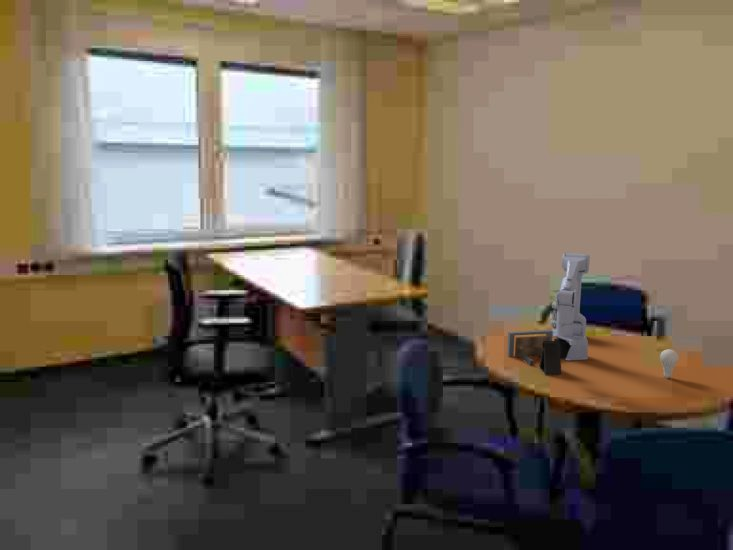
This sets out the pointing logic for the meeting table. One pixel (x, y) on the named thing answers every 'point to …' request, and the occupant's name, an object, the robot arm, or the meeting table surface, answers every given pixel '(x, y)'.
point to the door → (529, 345)
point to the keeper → (527, 359)
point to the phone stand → (550, 359)
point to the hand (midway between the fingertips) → (562, 358)
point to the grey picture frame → (511, 334)
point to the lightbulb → (668, 361)
